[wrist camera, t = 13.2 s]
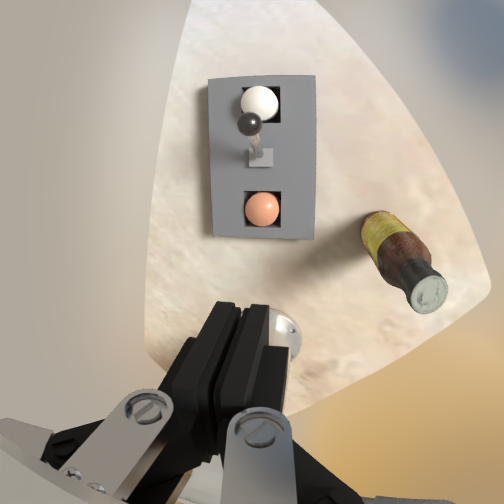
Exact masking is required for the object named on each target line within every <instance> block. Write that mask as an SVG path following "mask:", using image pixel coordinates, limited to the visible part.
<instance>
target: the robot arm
mask: <svg viewBox="0 0 504 504" xmlns="http://www.w3.org/2000/svg"><path fill="white" fill-rule="evenodd" d="M301 342H302V338H301V332H300V330H299V327H298V326H297V324H296V323H295V322H294V321H293V320H292V319H291V318H290V317H289V316H287V315H286V314H284V313H282V312H280V311H277V310H274V309H269V305H259V304H251V307H250V308H245V309H244V311H243V313H241V308H240V307H235V303H232V302H220V301H217V302H216V304H215V306H214V307H213V309H212V311H211V313H210V315H209V316H208V318H207V320H206V322H205V324H204V326H203V327H202V329H201V331H200V333H199V335H198V336H197V338H194V337H189V338H188V339H187V340H186V342H185V343H184V345H183V347H182V348H181V350H180V352H179V354H178V355H177V357H176V359H175V360H174V362H173V364H172V366H171V367H170V369H169V371H168V372H167V374H166V376H165V378H164V379H163V381H162V383H161V385H160V386H159V388H158V390H155V389H142V390H137V391H135V392H133V393H131V394H129V395H128V396H126V397H125V398H124V399H123V400H122V401H121V402H120V403H119V405H118V406H117V407H116V408H115V409H114V410H113V411H112V412H111V413H110V414H109V416H108V417H107V418H106V419H103V420H100V421H96V422H93V423H89V424H86V425H82V426H79V427H75V428H71V429H68V430H64V431H61V432H58V433H56V434H55V433H54V432H53V430H49V429H45V428H41V427H38V426H34V425H30V424H27V423H24V422H20V421H17V420H14V419H10V418H5V419H1V420H0V504H183V503H180V502H177V501H176V500H177V499H178V498H181V499H185V500H188V501H190V502H193V503H197V504H455V503H453V502H452V501H448V500H431V499H428V500H427V499H407V498H394V497H384V496H375V498H367V497H361V496H359V495H358V494H357V493H356V492H355V491H354V490H353V489H351V488H350V487H349V486H347V485H346V484H345V483H344V482H342V481H341V480H340V479H339V478H337V477H336V476H335V475H334V474H332V473H331V472H330V471H329V470H327V469H326V468H325V467H324V466H323V465H321V464H320V463H319V462H318V461H316V459H314V458H313V457H312V456H311V455H310V454H309V453H307V452H306V451H305V450H304V449H303V448H302V447H300V446H299V445H298V444H297V443H296V442H295V441H294V440H293V439H292V429H291V425H290V422H289V421H288V419H287V418H286V417H285V415H284V407H285V400H286V392H287V384H288V376H289V368H290V362H291V361H293V360H294V359H295V358H296V356H297V355H298V353H299V351H300V348H301Z"/></svg>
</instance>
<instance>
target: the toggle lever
mask: <svg viewBox="0 0 504 504" xmlns="http://www.w3.org/2000/svg"><path fill="white" fill-rule="evenodd" d="M261 128H262V120H261V118H260V116H259V115H258V114H256V113H254V112H245V113H243V114H241V115H240V116H239V118H238V119H237V129H238V131H239V132H240V133H241V134H243V135H245V136H248V138H249V141H250V144H251V147H252V149H253V152H254V155H255V157H257V158H262V157H263V156H264V150H263V147H262V144H261V140H260V137H259V134H258V133H259V132H260V130H261Z"/></svg>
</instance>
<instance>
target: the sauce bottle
mask: <svg viewBox="0 0 504 504" xmlns="http://www.w3.org/2000/svg"><path fill="white" fill-rule="evenodd" d="M361 237H362V242H363V244H364V246H365V247H366V249H367V251H368V253H369V254H370V256H371V258H372V260H373V262H374V263H375V265H376V267H377V269H378V271H379V272H380V274H381V276H382V277H383V279H384V280H385V281H386V282H387V283H389V284H390V285H392V286H395V287H397V288H400V289H402V290H403V291H404V292H405V294H406V299H407V301H408V303H409V304H410V306H411V307H412V308H413V309H414V311H416V312H417V313H420V314H428V313H432V312H434V311H435V310H437V309H438V308H440V307H441V306H442V304H443V303H444V302H445V300H446V298H447V294H448V285H447V283H446V281H445V279H444V278H443V277H442V275H441V274H440V273H438V272H437V271H435V270H433V268H432V267H431V254H430V252H429V250H428V248H427V247H426V246H425V244H424V243H423V242H422V241H421V240H420V239H419V237H418V236H417V235H416V234H414V233H413V232H412V231H411V230H410V229H409V228H408V227H407V226H406V225H405V224H404V223H402V222H401V221H400V220H399V219H398V218H397V217H396V216H394V215H392V214H390V213H389V212H386V211H377V212H373V213H371V214H370V215H368V216H367V217H366V218H365V220H364V221H363V223H362V226H361Z"/></svg>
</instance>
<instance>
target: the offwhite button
mask: <svg viewBox="0 0 504 504" xmlns="http://www.w3.org/2000/svg"><path fill="white" fill-rule="evenodd" d="M241 108H242V110H243V112H244V113H245V112H254V113H256V114H258V115H259V116H260V118H261V120H262V122H263V121H268V120H271V119H272V118H274V117H275V116H276V114H277V113H278V110H279V101H278V99H277V97H276V96H275V94H274V93H273V92H272V91H271V90H270V89H268V88H266V87H263V86H255V87H251V88H249V89H248V90H247V91H246V92H245V93H244V94H243V96H242V99H241Z"/></svg>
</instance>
